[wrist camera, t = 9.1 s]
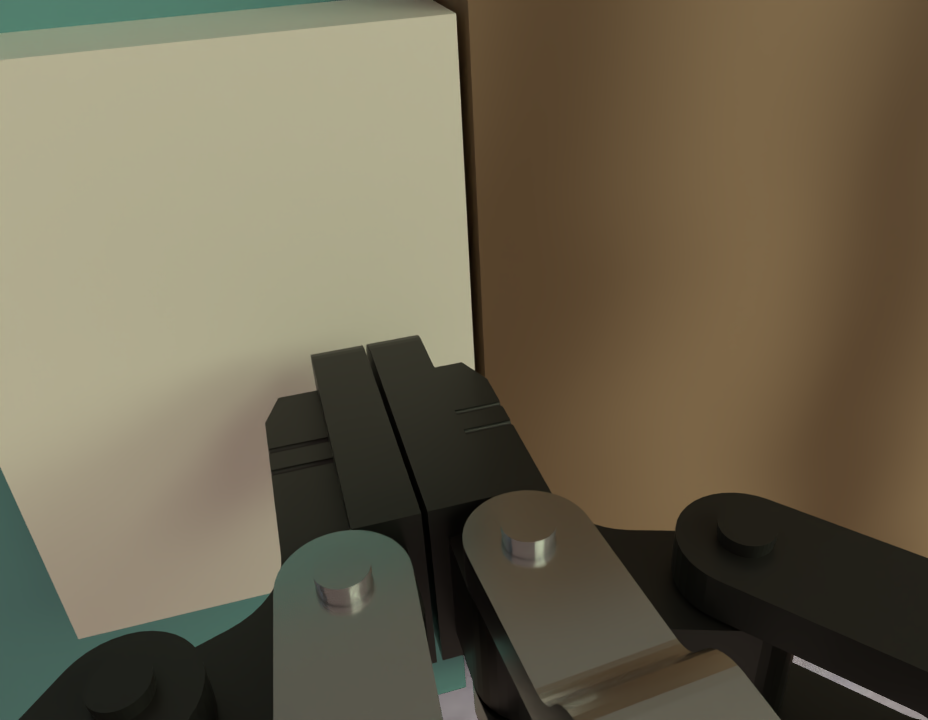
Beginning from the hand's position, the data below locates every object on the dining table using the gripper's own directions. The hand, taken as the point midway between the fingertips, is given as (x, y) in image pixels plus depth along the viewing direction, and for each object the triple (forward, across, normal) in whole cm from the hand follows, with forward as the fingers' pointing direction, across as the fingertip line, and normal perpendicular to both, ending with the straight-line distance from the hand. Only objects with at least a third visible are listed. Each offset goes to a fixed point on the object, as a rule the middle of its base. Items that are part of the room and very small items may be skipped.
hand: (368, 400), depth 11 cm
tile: (+3, +2, 0) cm, 3 cm away
